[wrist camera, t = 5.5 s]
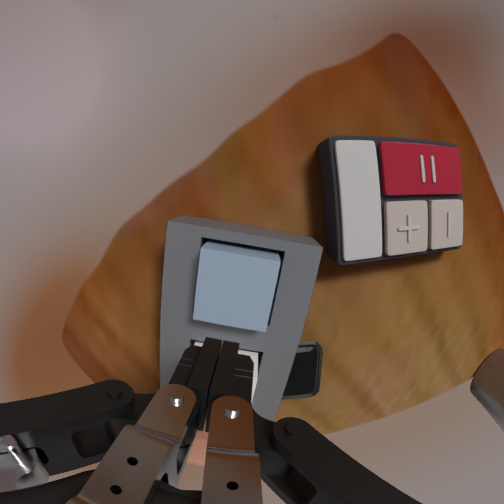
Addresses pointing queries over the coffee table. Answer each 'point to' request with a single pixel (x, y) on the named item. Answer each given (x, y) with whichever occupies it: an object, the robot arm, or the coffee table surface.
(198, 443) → the terracotta key
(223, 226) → the key panel
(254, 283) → the slate key
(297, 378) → the phone
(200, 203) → the coffee table surface
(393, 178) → the calculator
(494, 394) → the robot arm
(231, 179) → the coffee table surface
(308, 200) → the coffee table surface
